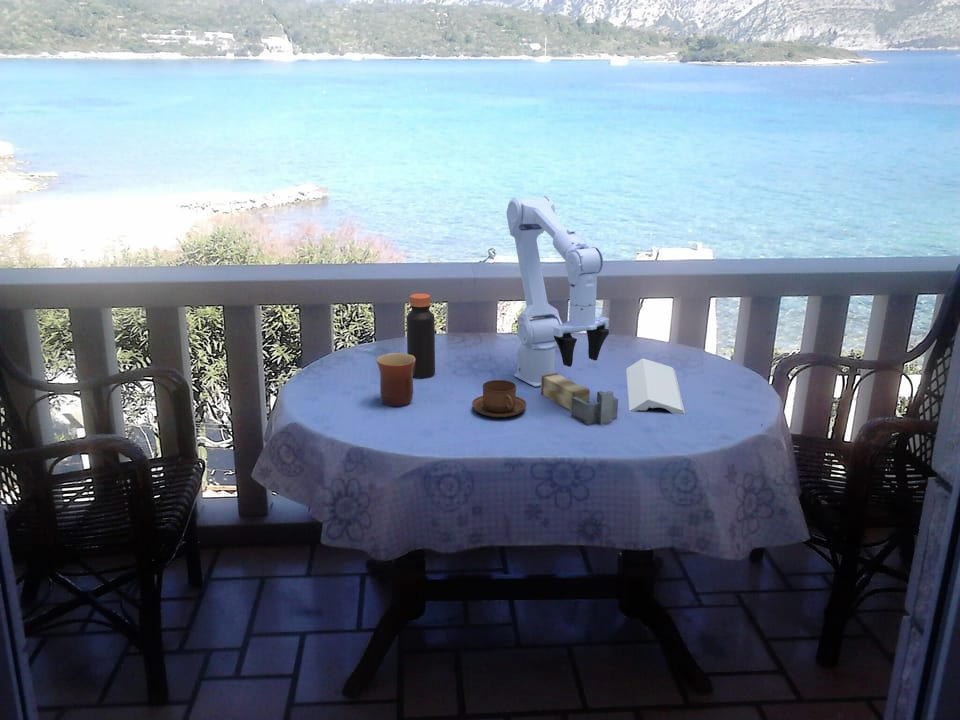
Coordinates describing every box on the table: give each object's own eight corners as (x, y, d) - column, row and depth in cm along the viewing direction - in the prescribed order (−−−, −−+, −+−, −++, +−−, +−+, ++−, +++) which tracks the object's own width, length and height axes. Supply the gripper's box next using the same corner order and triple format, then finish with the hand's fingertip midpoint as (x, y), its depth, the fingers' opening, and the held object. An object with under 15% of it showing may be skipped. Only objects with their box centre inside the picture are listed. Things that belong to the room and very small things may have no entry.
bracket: (571, 416, 194) (572, 386, 192) (600, 409, 198) (601, 380, 196) (591, 427, 188) (592, 397, 186) (620, 420, 192) (622, 390, 190)
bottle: (436, 369, 222) (435, 292, 216) (434, 379, 216) (433, 299, 210) (409, 369, 223) (407, 292, 216) (406, 378, 216) (404, 299, 210)
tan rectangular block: (540, 394, 207) (541, 375, 205) (555, 391, 209) (555, 372, 207) (574, 412, 196) (574, 392, 195) (588, 408, 198) (589, 389, 197)
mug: (403, 411, 196) (402, 367, 193) (370, 404, 200) (368, 361, 196) (430, 394, 206) (429, 352, 203) (397, 388, 210) (396, 347, 207)
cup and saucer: (537, 411, 197) (538, 385, 195) (500, 426, 189) (500, 399, 187) (498, 397, 205) (498, 372, 203) (460, 411, 197) (460, 385, 195)
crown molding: (685, 416, 196) (686, 401, 195) (629, 413, 197) (630, 398, 196) (674, 373, 223) (675, 359, 222) (625, 371, 225) (626, 357, 224)
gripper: (569, 311, 186) (567, 373, 190) (619, 302, 194) (616, 361, 198) (548, 305, 192) (546, 364, 196) (597, 295, 200) (595, 353, 204)
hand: (580, 362), depth 197 cm, fingers open, 7 cm apart
